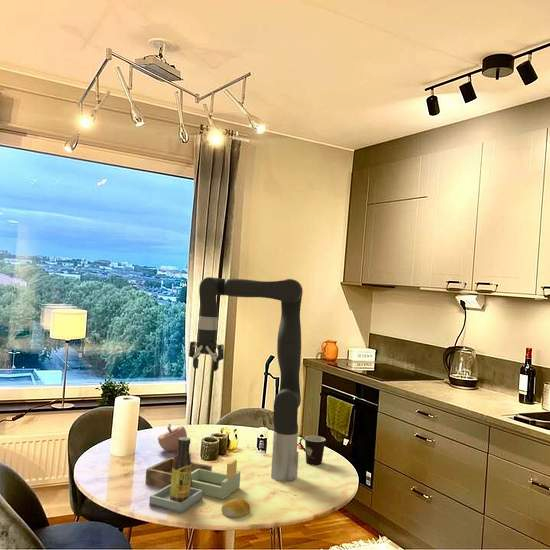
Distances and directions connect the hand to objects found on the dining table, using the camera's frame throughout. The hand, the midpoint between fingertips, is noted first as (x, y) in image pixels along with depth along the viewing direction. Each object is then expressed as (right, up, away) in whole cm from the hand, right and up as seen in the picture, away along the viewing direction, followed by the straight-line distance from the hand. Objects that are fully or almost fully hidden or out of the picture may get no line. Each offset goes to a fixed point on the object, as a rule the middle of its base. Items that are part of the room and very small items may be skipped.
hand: (205, 369), depth 204 cm
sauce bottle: (-4, -37, -34) cm, 50 cm away
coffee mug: (+43, -41, +14) cm, 61 cm away
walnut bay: (-7, -37, -16) cm, 41 cm away
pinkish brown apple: (-16, -38, +17) cm, 45 cm away
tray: (-5, -37, -34) cm, 50 cm away
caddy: (+4, -38, -21) cm, 43 cm away
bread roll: (+15, -39, -38) cm, 56 cm away
